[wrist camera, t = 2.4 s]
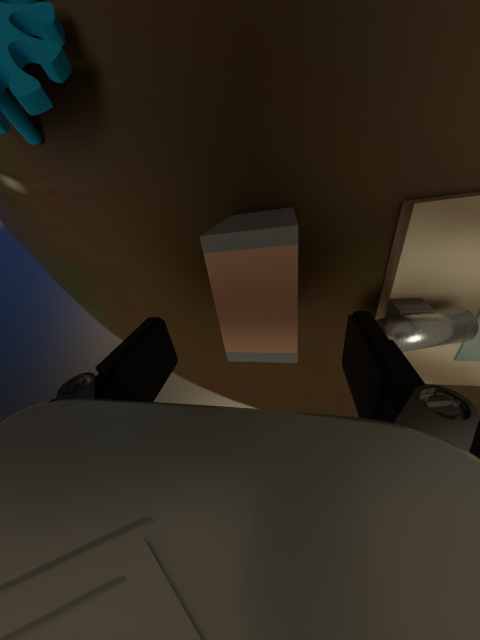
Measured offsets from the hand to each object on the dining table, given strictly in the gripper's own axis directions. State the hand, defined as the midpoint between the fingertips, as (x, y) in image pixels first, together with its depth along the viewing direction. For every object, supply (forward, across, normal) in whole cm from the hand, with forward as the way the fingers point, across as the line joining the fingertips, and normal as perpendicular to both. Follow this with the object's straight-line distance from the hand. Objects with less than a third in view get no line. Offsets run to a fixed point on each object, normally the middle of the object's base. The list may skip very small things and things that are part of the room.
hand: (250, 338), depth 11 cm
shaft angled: (+7, -11, +3) cm, 13 cm away
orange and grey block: (+8, 0, -1) cm, 9 cm away
